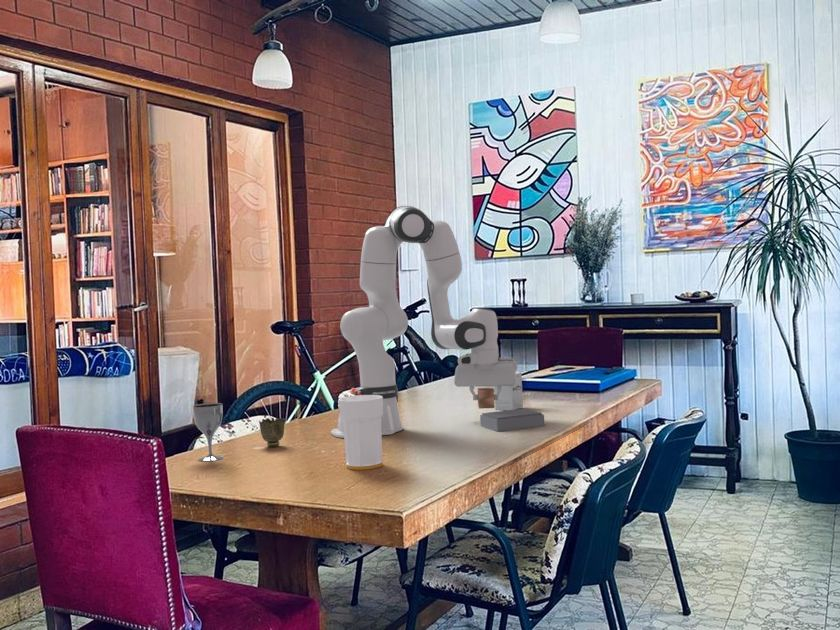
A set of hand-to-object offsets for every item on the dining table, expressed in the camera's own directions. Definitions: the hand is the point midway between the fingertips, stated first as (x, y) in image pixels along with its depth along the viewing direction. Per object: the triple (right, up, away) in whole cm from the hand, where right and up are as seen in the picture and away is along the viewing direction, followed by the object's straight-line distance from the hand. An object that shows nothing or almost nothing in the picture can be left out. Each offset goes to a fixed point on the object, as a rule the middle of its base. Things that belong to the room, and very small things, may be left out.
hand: (486, 400), depth 280 cm
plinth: (+7, -7, -14) cm, 17 cm away
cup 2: (-36, -11, -62) cm, 72 cm away
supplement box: (+10, -5, +21) cm, 24 cm away
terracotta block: (0, -2, 0) cm, 2 cm away
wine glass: (-79, -12, -42) cm, 91 cm away
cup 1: (-64, -11, -28) cm, 71 cm away
